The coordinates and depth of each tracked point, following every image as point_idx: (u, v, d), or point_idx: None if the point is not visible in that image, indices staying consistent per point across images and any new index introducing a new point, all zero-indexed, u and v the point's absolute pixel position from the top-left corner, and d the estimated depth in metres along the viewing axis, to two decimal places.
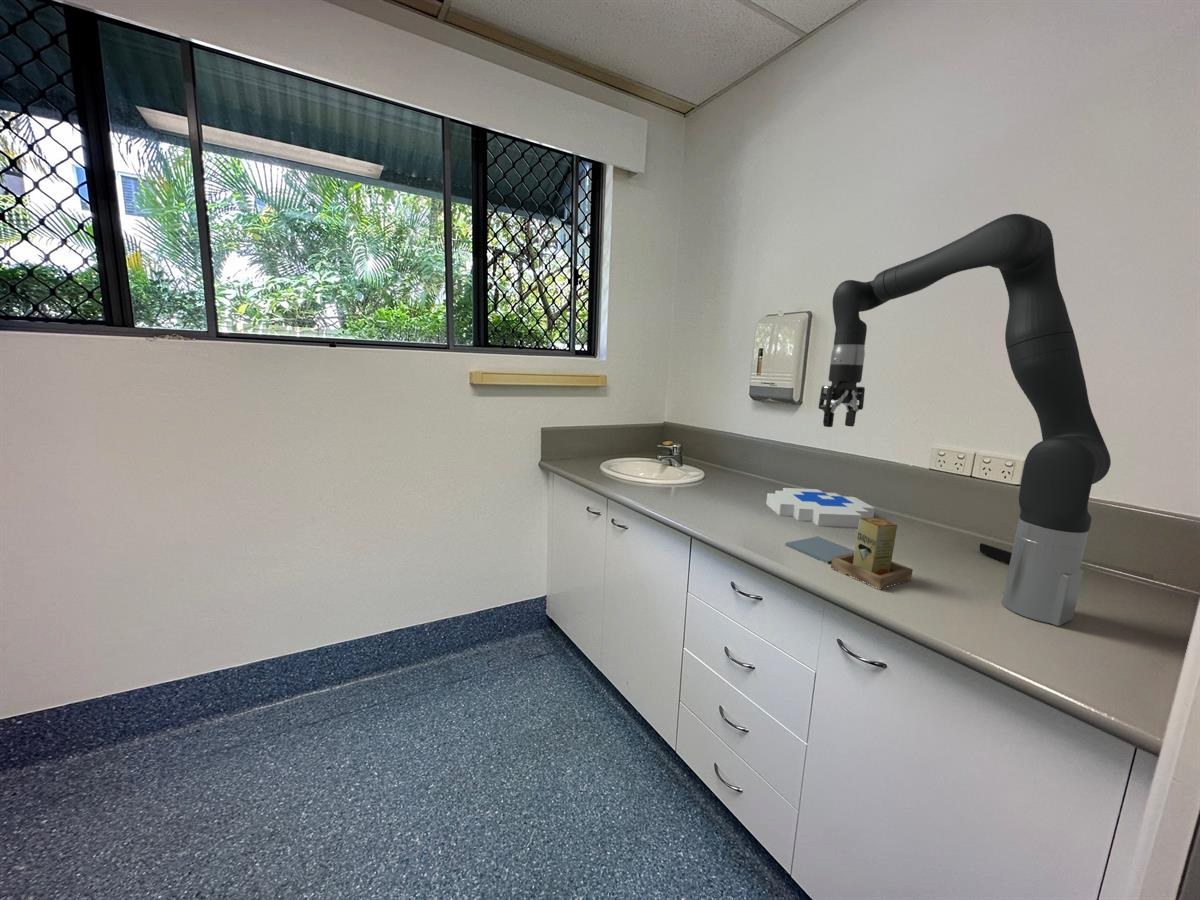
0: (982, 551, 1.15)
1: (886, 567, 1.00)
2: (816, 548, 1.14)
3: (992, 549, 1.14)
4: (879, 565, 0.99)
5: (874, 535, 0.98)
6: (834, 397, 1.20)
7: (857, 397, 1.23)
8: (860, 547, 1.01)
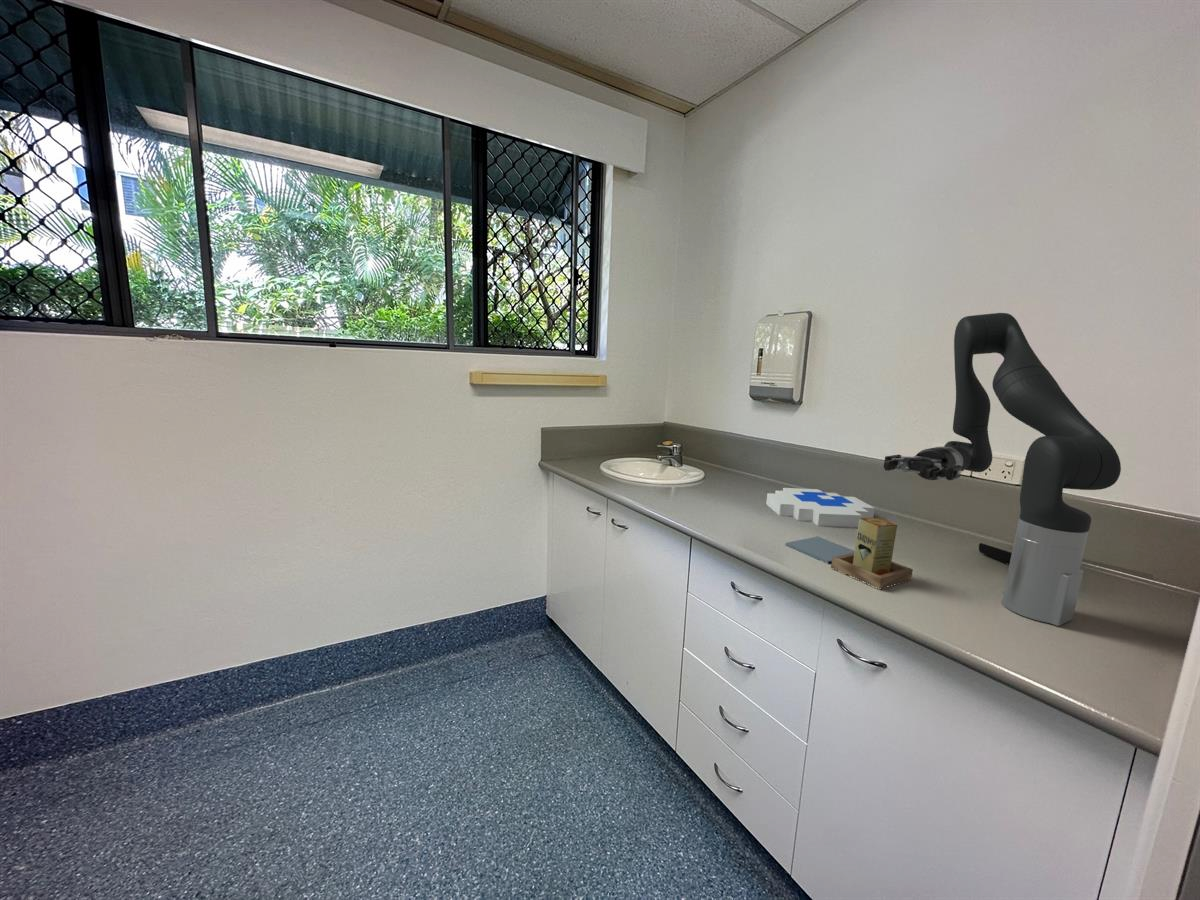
0: (981, 551, 1.15)
1: (886, 567, 1.00)
2: (816, 548, 1.14)
3: (991, 549, 1.14)
4: (879, 565, 0.99)
5: (874, 535, 0.98)
6: (908, 464, 1.11)
7: None
8: (860, 547, 1.01)
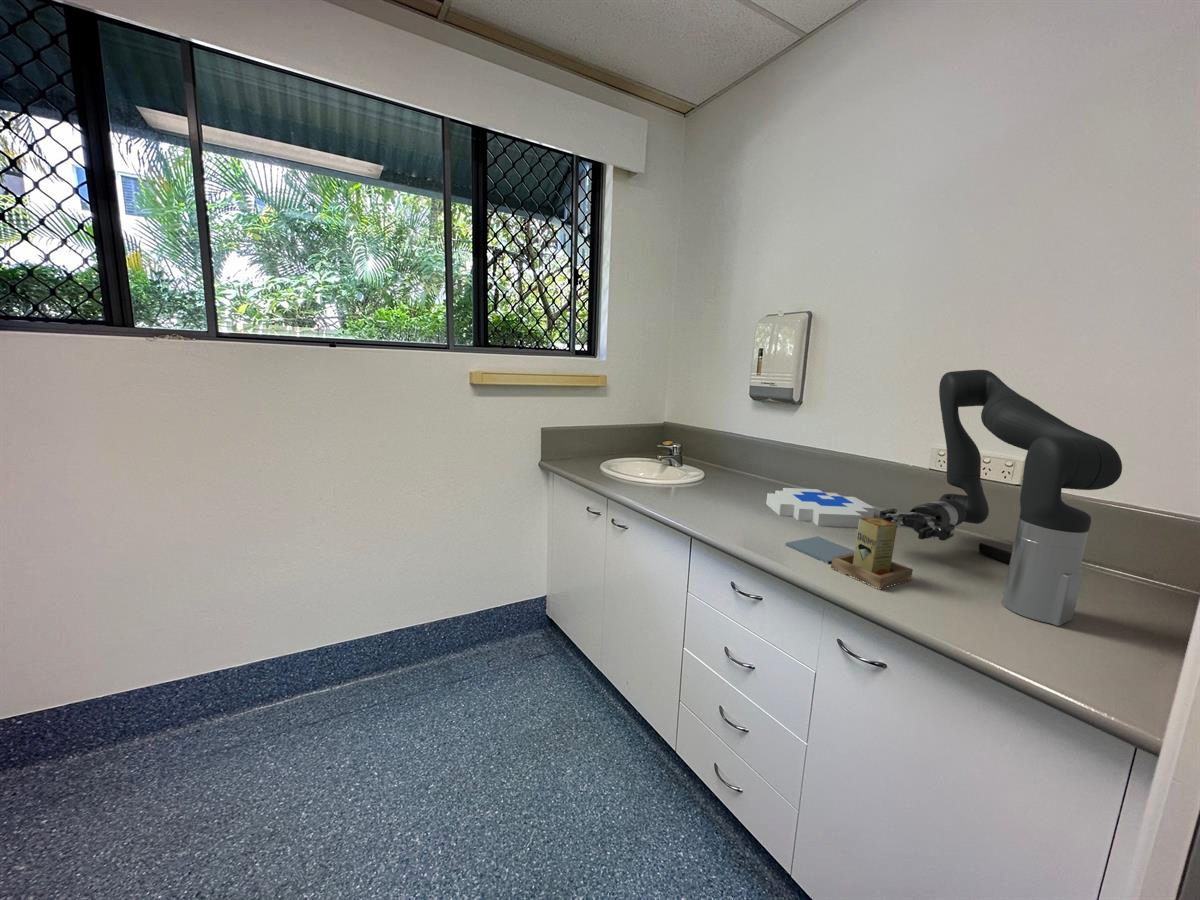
0: (981, 551, 1.16)
1: (886, 567, 1.00)
2: (816, 548, 1.14)
3: (991, 549, 1.14)
4: (879, 565, 0.99)
5: (874, 535, 0.98)
6: (903, 520, 1.13)
7: None
8: (860, 547, 1.01)
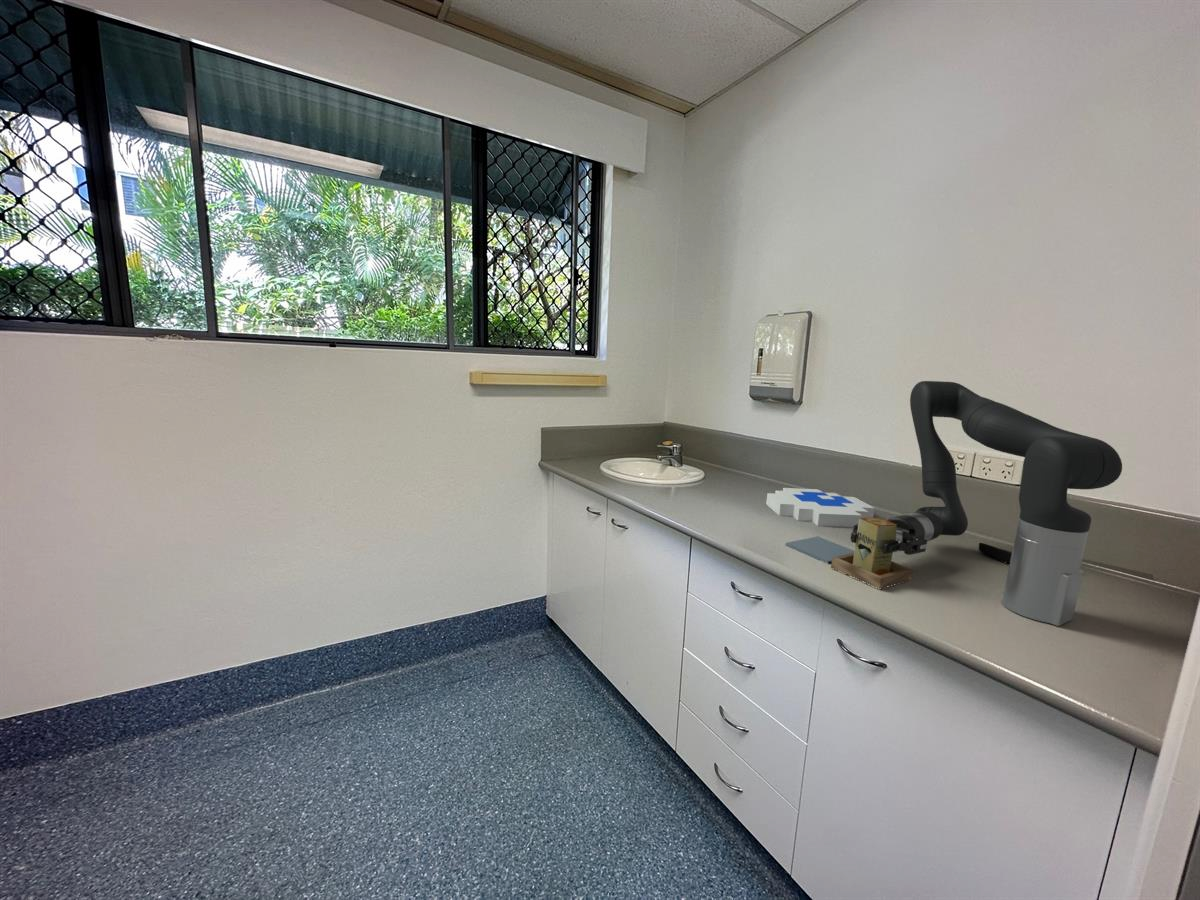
0: (981, 551, 1.16)
1: (886, 567, 1.00)
2: (816, 548, 1.14)
3: (991, 549, 1.14)
4: (878, 565, 0.99)
5: (874, 535, 0.98)
6: None
7: None
8: (860, 547, 1.01)
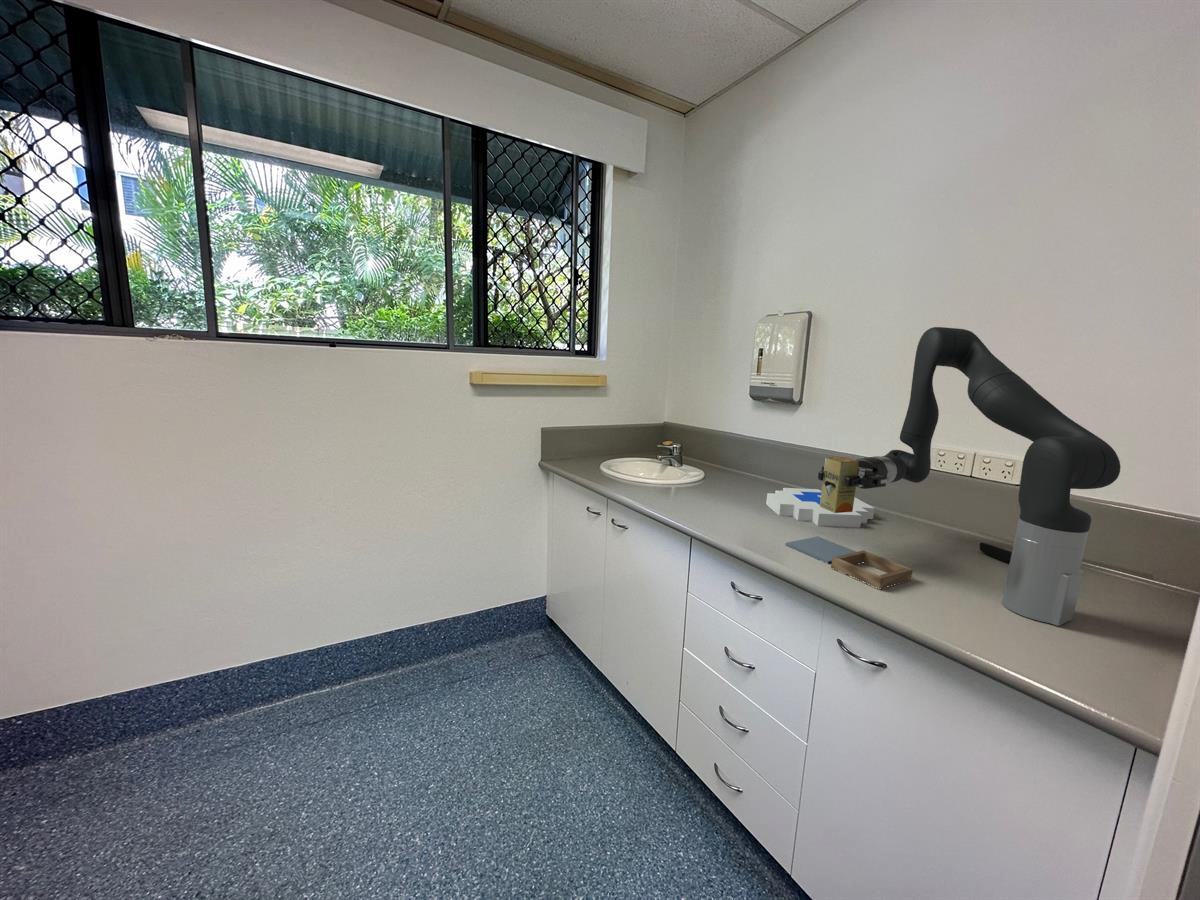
0: (982, 550, 1.16)
1: (850, 501, 1.08)
2: (816, 548, 1.14)
3: (991, 548, 1.14)
4: (842, 498, 1.08)
5: (838, 471, 1.06)
6: None
7: None
8: (826, 484, 1.10)
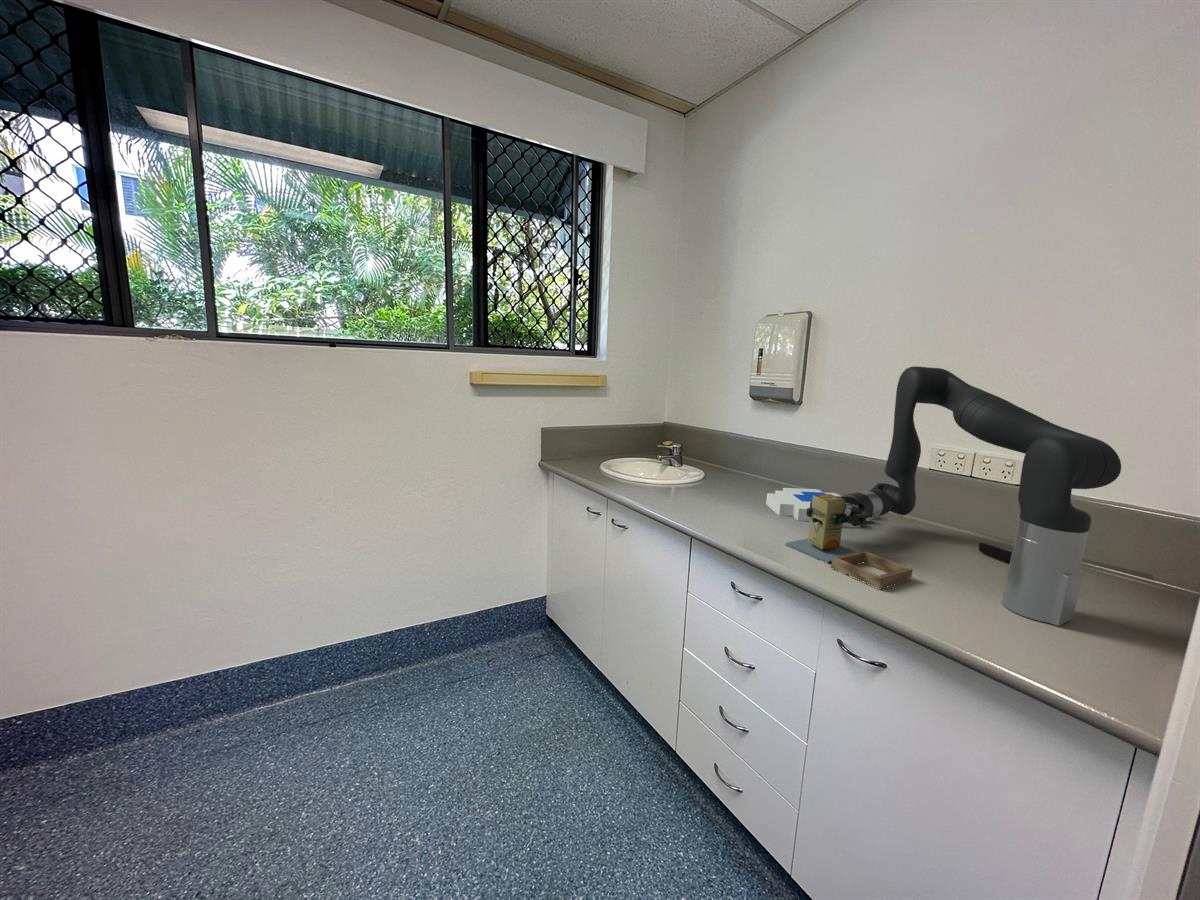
0: (981, 550, 1.16)
1: (836, 538, 1.12)
2: (816, 548, 1.14)
3: (991, 548, 1.14)
4: (829, 535, 1.11)
5: (825, 509, 1.10)
6: None
7: None
8: (814, 520, 1.14)
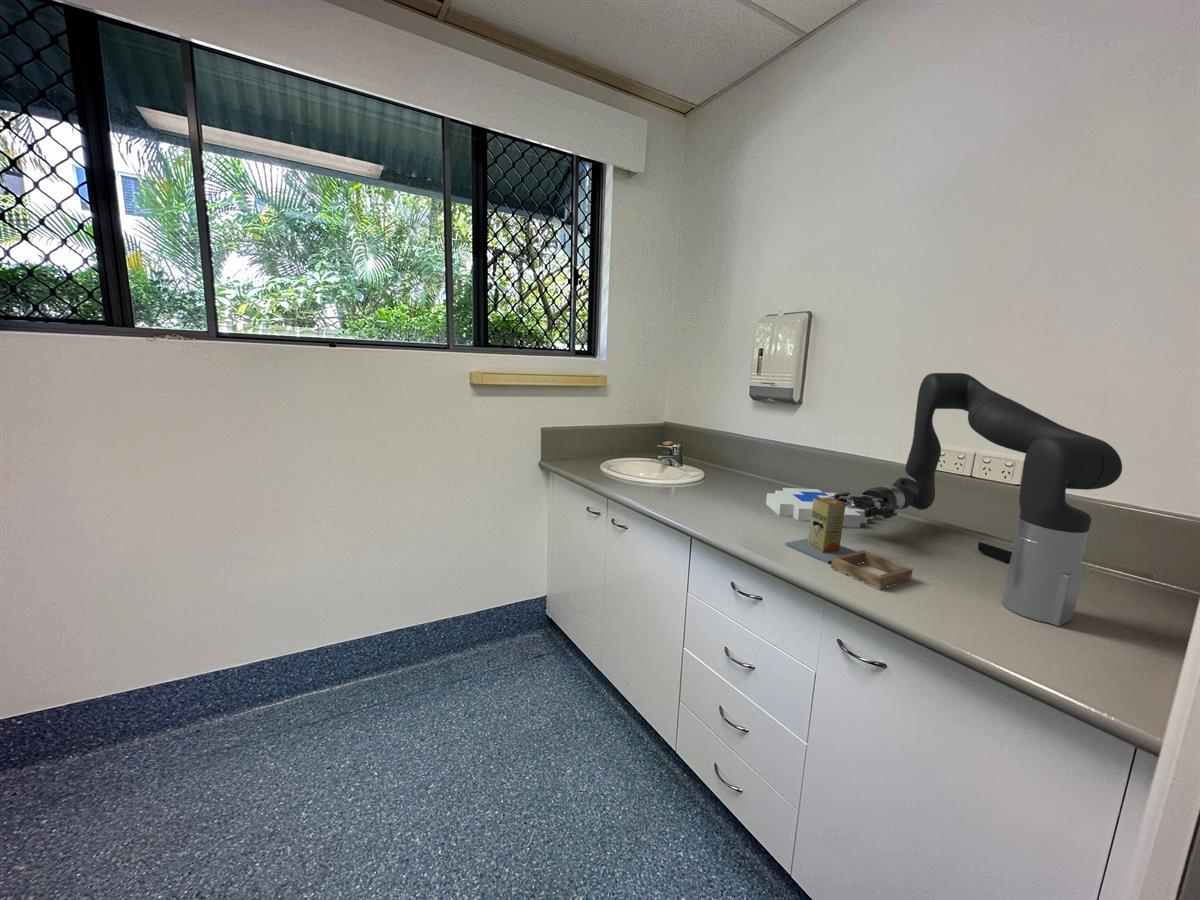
0: (980, 550, 1.16)
1: (837, 541, 1.12)
2: None
3: (990, 548, 1.15)
4: (830, 539, 1.11)
5: (826, 512, 1.10)
6: None
7: None
8: (814, 524, 1.14)
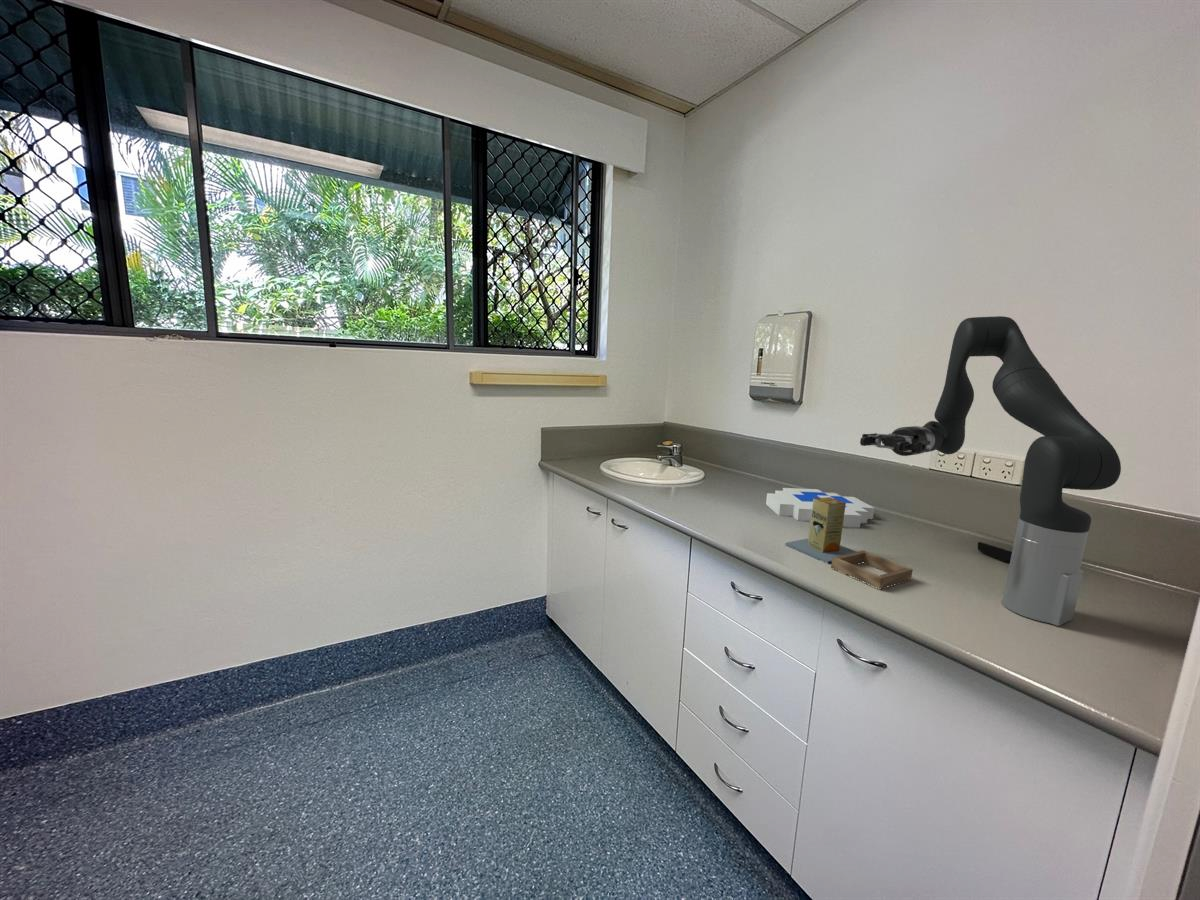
0: (980, 550, 1.16)
1: (837, 541, 1.12)
2: None
3: (990, 548, 1.15)
4: (830, 539, 1.11)
5: (826, 512, 1.10)
6: None
7: None
8: (814, 524, 1.14)
